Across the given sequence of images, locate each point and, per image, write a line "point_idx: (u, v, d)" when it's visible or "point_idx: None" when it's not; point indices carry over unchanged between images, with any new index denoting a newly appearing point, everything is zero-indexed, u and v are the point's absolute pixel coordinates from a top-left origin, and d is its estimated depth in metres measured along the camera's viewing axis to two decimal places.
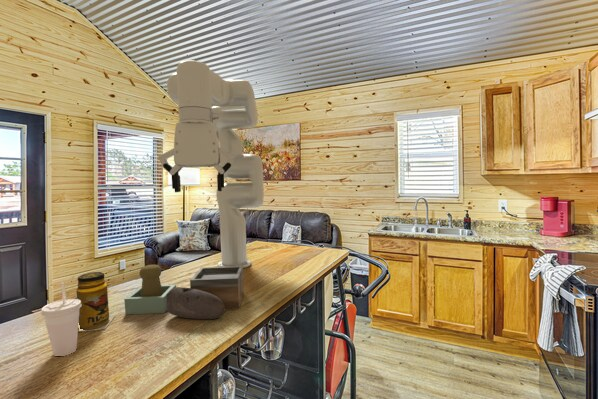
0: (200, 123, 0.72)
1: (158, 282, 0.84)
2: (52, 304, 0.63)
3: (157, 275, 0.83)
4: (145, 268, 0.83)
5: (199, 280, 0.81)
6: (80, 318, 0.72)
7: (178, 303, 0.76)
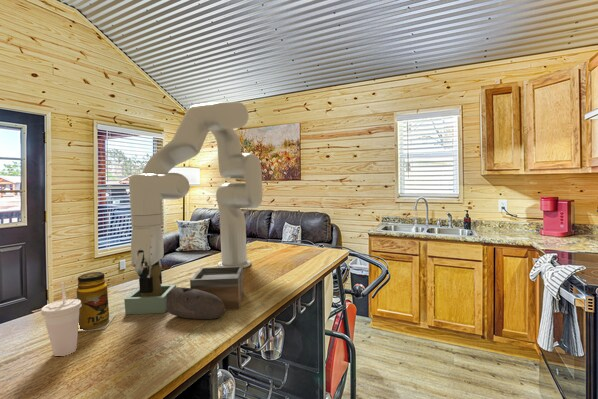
0: None
1: (158, 282, 0.84)
2: (52, 304, 0.63)
3: (157, 275, 0.83)
4: (145, 268, 0.83)
5: (199, 280, 0.81)
6: (80, 318, 0.72)
7: (178, 303, 0.76)
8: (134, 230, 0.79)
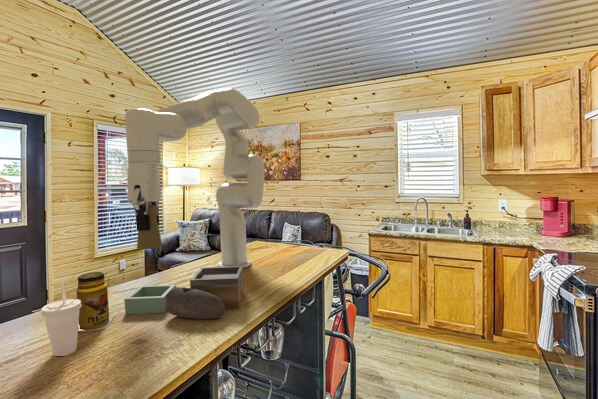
0: (156, 165, 0.84)
1: (155, 221, 0.83)
2: (52, 304, 0.63)
3: (154, 214, 0.82)
4: None
5: (199, 280, 0.81)
6: (80, 318, 0.72)
7: (178, 303, 0.76)
8: (130, 165, 0.78)
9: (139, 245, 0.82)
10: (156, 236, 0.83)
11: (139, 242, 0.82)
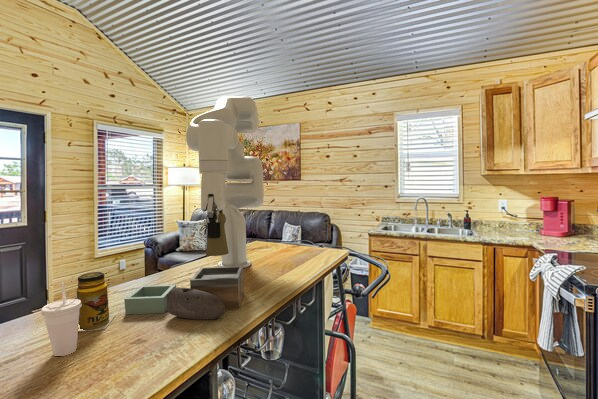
0: (224, 173, 0.86)
1: (223, 229, 0.85)
2: (52, 304, 0.63)
3: (223, 221, 0.84)
4: None
5: (199, 280, 0.81)
6: (80, 318, 0.72)
7: (178, 303, 0.76)
8: (204, 174, 0.80)
9: (209, 252, 0.83)
10: (224, 243, 0.85)
11: (209, 249, 0.83)
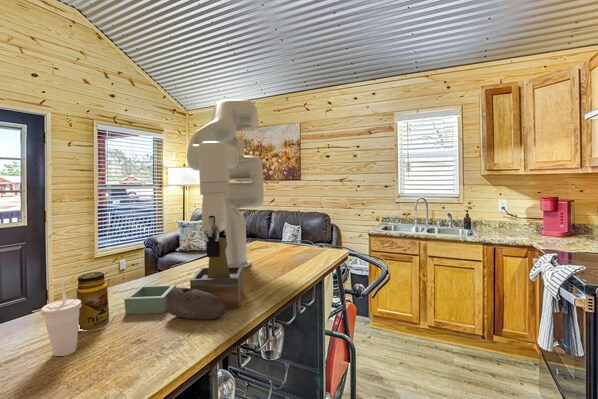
0: None
1: (225, 254, 0.86)
2: (52, 304, 0.63)
3: (225, 247, 0.85)
4: None
5: (199, 280, 0.81)
6: (80, 318, 0.72)
7: (178, 303, 0.76)
8: (205, 196, 0.80)
9: (210, 277, 0.84)
10: (226, 268, 0.85)
11: (210, 274, 0.84)
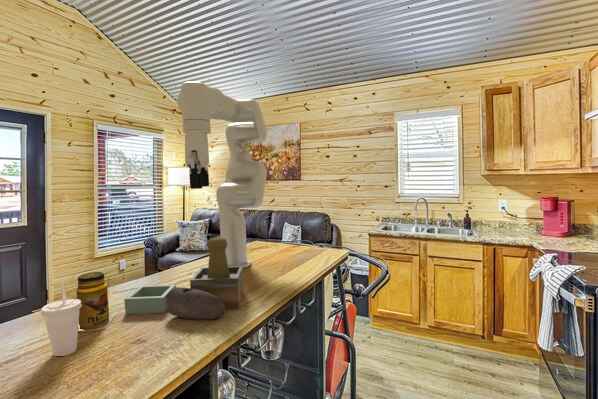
0: (206, 133, 0.93)
1: (225, 254, 0.86)
2: (52, 304, 0.63)
3: (224, 247, 0.85)
4: (213, 240, 0.84)
5: (199, 280, 0.81)
6: (80, 318, 0.72)
7: (178, 303, 0.76)
8: (187, 132, 0.87)
9: (210, 277, 0.84)
10: (226, 268, 0.85)
11: (210, 274, 0.84)
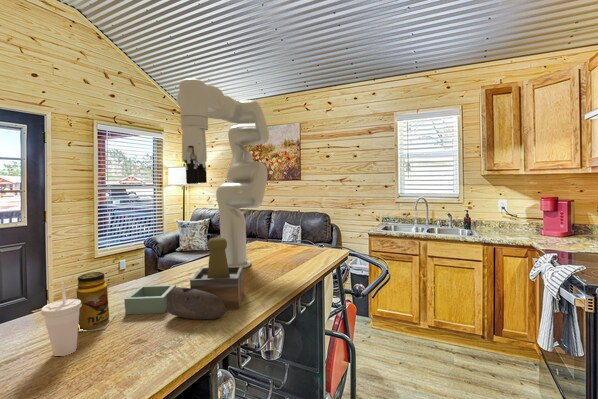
0: (204, 130, 0.94)
1: (225, 254, 0.86)
2: (52, 304, 0.63)
3: (224, 247, 0.85)
4: (213, 240, 0.84)
5: (199, 280, 0.81)
6: (80, 318, 0.72)
7: (178, 303, 0.76)
8: (185, 128, 0.88)
9: (210, 277, 0.84)
10: (226, 268, 0.85)
11: (210, 274, 0.84)
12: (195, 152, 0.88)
